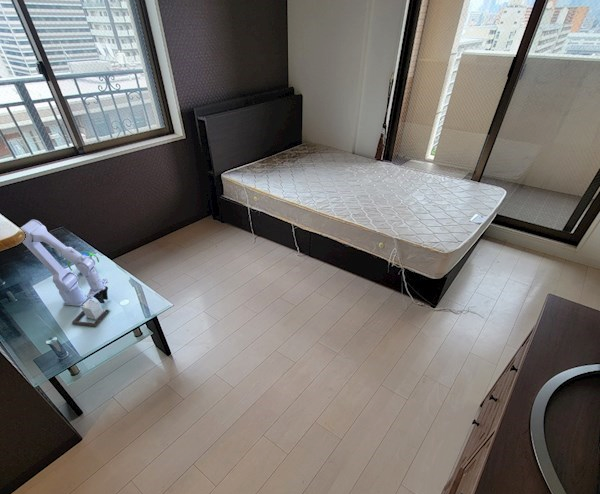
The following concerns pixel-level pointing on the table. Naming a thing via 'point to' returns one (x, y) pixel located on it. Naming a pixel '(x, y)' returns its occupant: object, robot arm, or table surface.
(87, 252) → the snack cup
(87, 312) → the white cardboard box
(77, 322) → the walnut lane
